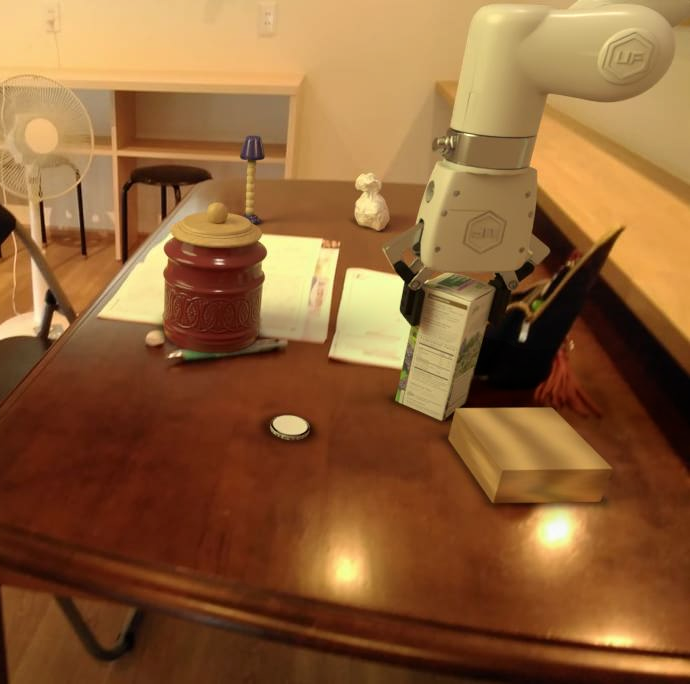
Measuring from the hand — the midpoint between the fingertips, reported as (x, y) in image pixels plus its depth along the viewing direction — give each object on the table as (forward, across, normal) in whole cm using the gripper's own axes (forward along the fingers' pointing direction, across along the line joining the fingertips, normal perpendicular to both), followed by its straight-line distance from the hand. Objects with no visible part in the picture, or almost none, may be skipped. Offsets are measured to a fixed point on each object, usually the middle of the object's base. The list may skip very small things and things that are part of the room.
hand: (450, 319), depth 72 cm
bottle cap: (+10, -17, -5) cm, 21 cm away
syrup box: (+11, 0, 0) cm, 11 cm away
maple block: (+10, +4, -12) cm, 16 cm away
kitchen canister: (+11, -23, +18) cm, 31 cm away
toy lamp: (+11, -11, +67) cm, 69 cm away
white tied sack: (+11, +13, +66) cm, 68 cm away
